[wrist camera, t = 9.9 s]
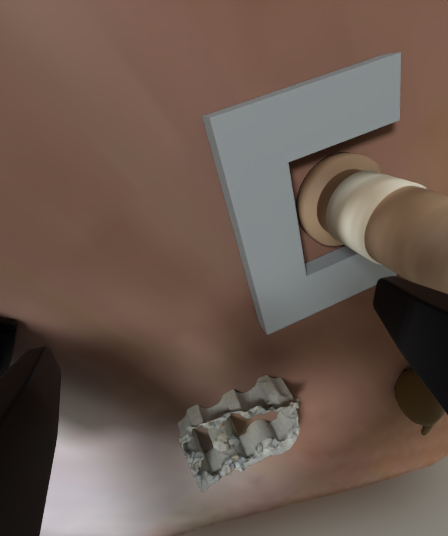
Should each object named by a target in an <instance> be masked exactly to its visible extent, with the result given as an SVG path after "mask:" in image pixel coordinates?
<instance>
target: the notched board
mask: <svg viewBox="0 0 448 536" xmlns="http://www.w3.org/2000/svg"><path fill="white" fill-rule="evenodd" d="M400 69H401V52H399V53H392V54H384V55H380V56H377V57H374V58H371V59H368V60H365V61H363V62H360V63H357V64H354V65H351V66H348V67H345V68H342V69H339V70H336V71H333V72H330V73H327V74H325V75H322V76H319V77H316V78H313V79H310V80H307V81H304V82H301V83H298V84H295V85H292V86H289V87H287V88H284V89H281V90H278V91H275V92H272V93H269V94H266V95H263V96H260V97H257V98H254V99H251V100H248V101H246V102H243V103H240V104H237V105H234V106H231V107H228V108H225V109H222V110H219V111H216V112H213V113H210V114H208V115H205V116H202V118H203V122H204V126H205V129H206V133H207V136H208V140H209V144H210V147H211V151H212V154H213V158H214V162H215V165H216V169H217V173H218V176H219V180H220V183H221V187H222V191H223V194H224V198H225V201H226V205H227V209H228V212H229V216H230V220H231V223H232V227H233V230H234V234H235V238H236V241H237V245H238V248H239V252H240V256H241V259H242V263H243V267H244V270H245V274H246V277H247V281H248V285H249V288H250V292H251V296H252V299H253V303H254V306H255V310H256V314H257V317H258V321H259V324H260V326H261V327H262V328H263V330H264V331H265V333H266V334H267V335H269V334H271V333H273V332H275V331H278V330H280V329H282V328H284V327H286V326H288V325H291V324H293V323H295V322H297V321H299V320H301V319H304V318H306V317H308V316H310V315H312V314H314V313H317V312H319V311H321V310H323V309H325V308H327V307H330V306H332V305H334V304H336V303H338V302H340V301H343V300H345V299H347V298H349V297H351V296H353V295H355V294H358V293H360V292H362V291H364V290H366V289H368V288H371V287H373V286H375V285H376V283H377V281H378V279H380V278H382V277H387V276H397V273H395V272H394V271H392V270H390V269H389V268H387V267H385V266H384V265H380V264H376V263H373V262H372V261H370V260H368V259H367V258H365V257H364V256H362V255H360V254H359V253H357V252H355V251H354V250H352V249H350V248H349V247H347V246H344V247H342V248H339V249H337V250H335V251H333V252H330V253H328V254H326V255H323V256H321V257H319V258H316V259H314V260H312V261H310V262H307V263H305V264H304V257H303V251H302V245H301V238H300V232H299V226H298V220H297V213H296V207H295V201H294V195H293V188H292V182H291V176H290V170H289V163H288V162H291V161H294V160H296V159H299V158H302V157H304V156H307V155H309V154H312V153H315V152H317V151H320V150H323V149H325V148H328V147H330V146H333V145H336V144H338V143H341V142H344V141H346V140H349V139H352V138H354V137H357V136H359V135H362V134H365V133H367V132H370V131H373V130H375V129H378V128H380V127H383V126H386V125H388V124H391V123H394V122H396V121H399V120H400Z"/></svg>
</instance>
